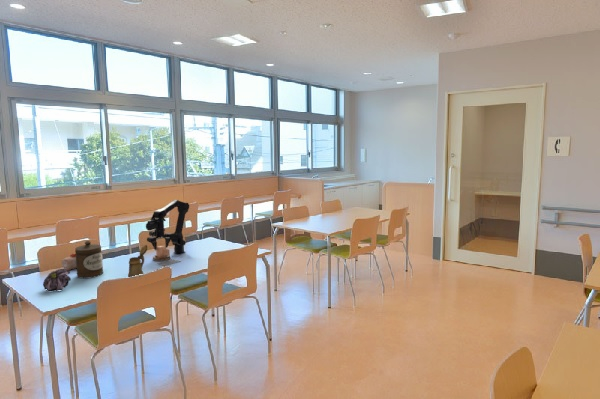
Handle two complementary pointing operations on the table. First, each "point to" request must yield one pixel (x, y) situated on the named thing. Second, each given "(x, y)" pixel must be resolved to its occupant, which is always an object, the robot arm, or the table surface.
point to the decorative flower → (57, 280)
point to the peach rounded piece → (162, 251)
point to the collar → (161, 258)
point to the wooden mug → (137, 263)
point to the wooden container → (89, 260)
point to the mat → (168, 262)
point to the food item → (69, 262)
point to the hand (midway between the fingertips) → (161, 248)
